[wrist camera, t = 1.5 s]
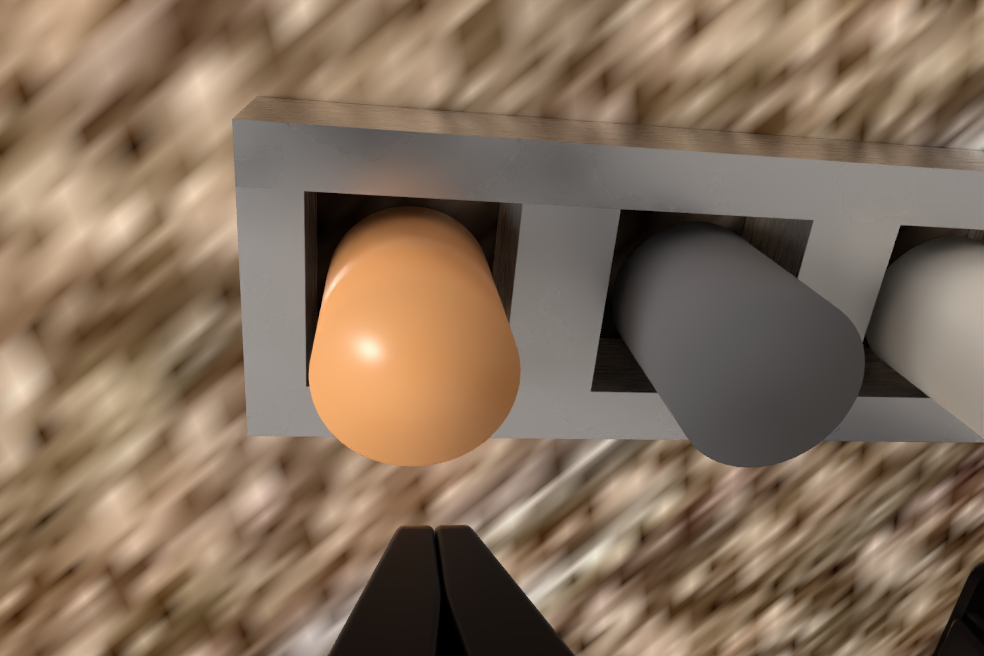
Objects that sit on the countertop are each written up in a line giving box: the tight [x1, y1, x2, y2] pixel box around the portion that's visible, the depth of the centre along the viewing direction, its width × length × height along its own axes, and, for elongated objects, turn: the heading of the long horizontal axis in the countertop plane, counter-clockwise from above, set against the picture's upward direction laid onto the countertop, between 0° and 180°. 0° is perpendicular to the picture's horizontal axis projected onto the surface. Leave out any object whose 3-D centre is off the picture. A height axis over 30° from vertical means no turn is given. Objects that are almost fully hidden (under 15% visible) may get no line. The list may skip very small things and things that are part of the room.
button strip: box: [232, 97, 984, 442], centre depth 18 cm, size 20×7×3 cm, turn 85°
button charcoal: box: [612, 222, 865, 467], centre depth 16 cm, size 4×4×4 cm
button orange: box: [309, 206, 521, 466], centre depth 15 cm, size 4×4×4 cm
